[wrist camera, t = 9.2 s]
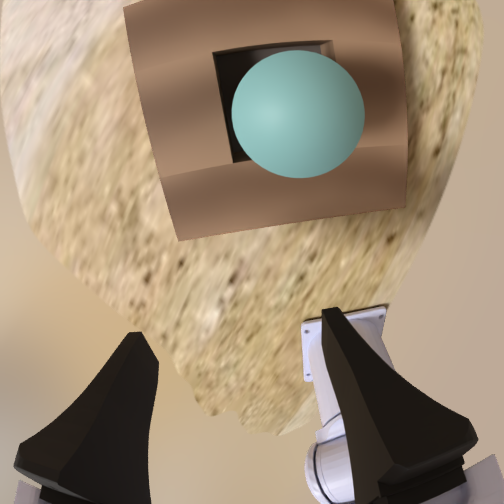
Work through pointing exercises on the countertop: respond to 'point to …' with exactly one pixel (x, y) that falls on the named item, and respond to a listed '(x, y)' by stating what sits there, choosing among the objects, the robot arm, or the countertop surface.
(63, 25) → the countertop surface
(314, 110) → the peg
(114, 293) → the countertop surface
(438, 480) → the robot arm
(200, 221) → the socket block
